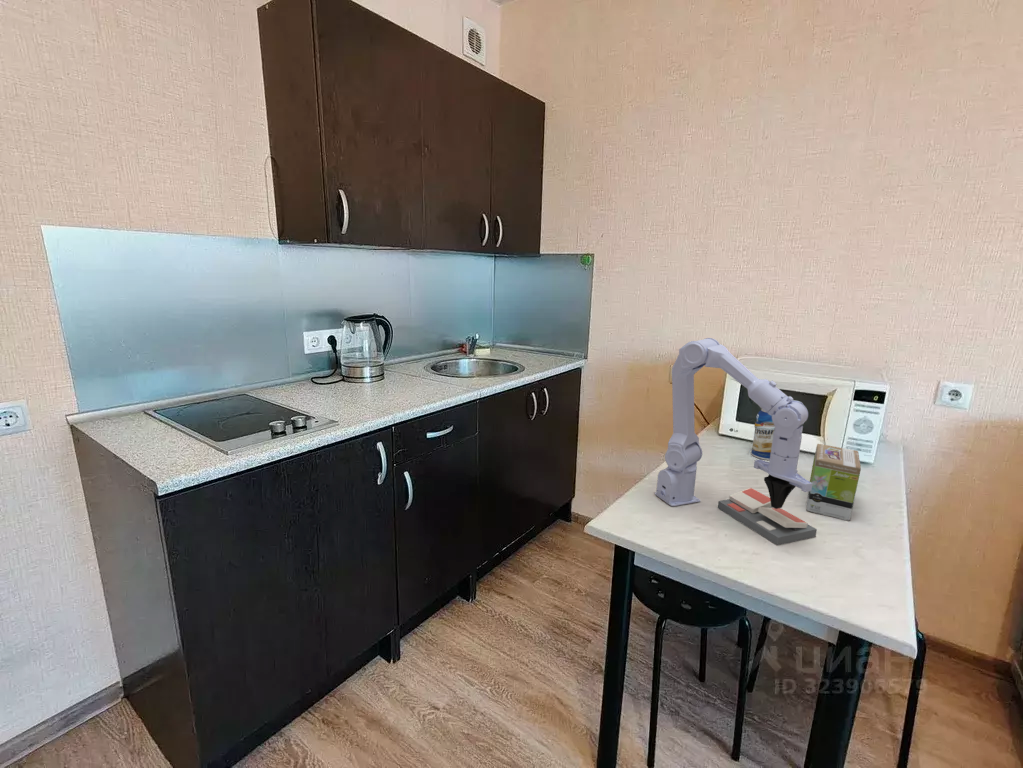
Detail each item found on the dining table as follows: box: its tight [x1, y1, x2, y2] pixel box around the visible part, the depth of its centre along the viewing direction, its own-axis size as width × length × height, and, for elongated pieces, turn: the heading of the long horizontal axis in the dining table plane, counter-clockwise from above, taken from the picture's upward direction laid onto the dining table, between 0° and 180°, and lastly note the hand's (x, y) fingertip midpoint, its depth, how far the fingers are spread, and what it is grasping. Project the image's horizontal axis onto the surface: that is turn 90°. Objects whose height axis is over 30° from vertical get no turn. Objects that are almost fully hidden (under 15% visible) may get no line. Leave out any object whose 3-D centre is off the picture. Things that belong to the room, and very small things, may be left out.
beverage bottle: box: [750, 406, 775, 461], centre depth 166 cm, size 8×8×20 cm
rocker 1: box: [728, 487, 771, 514], centre depth 129 cm, size 7×8×1 cm
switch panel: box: [717, 498, 818, 546], centre depth 125 cm, size 12×19×3 cm, turn 20°
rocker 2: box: [758, 507, 809, 528], centre depth 120 cm, size 7×8×1 cm
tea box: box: [806, 443, 862, 522], centre depth 133 cm, size 15×10×15 cm
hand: (776, 507), depth 119 cm, fingers closed
